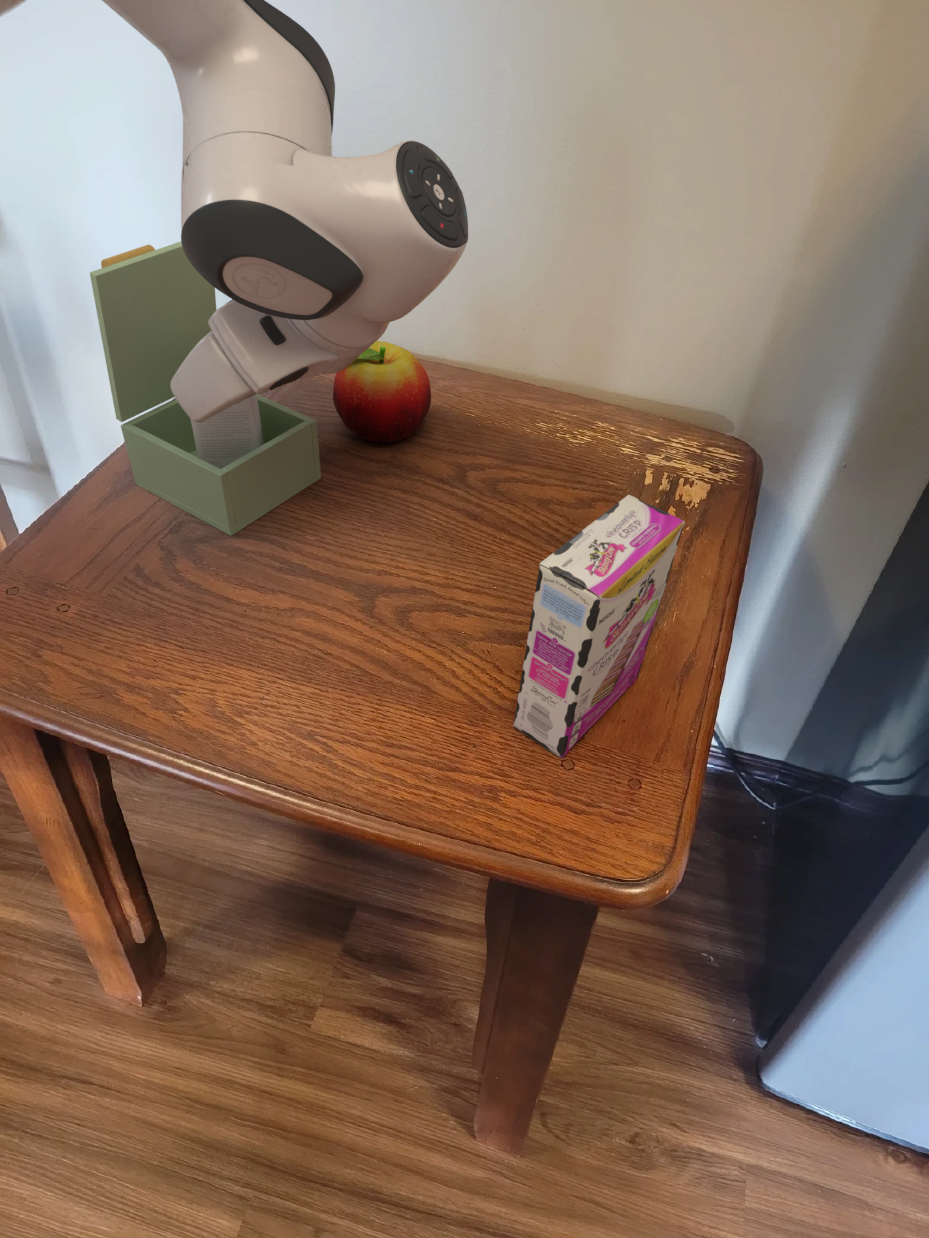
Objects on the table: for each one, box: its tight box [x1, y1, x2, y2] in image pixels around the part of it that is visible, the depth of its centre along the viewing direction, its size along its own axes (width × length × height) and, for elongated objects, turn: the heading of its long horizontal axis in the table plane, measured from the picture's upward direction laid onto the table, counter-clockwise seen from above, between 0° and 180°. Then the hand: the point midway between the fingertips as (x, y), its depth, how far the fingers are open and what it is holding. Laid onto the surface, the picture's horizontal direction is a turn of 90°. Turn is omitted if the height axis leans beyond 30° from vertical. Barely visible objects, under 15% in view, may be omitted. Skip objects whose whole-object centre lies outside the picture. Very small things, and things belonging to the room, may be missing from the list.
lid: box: [89, 241, 217, 423], centre depth 80 cm, size 14×13×5 cm
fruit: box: [332, 340, 432, 444], centre depth 92 cm, size 11×11×10 cm
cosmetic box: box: [190, 394, 264, 469], centre depth 82 cm, size 6×4×12 cm
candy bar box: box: [512, 494, 686, 759], centre depth 61 cm, size 11×5×16 cm, turn 140°
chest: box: [120, 394, 322, 537], centre depth 85 cm, size 14×13×7 cm
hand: (245, 387), depth 77 cm, fingers open, 8 cm apart
